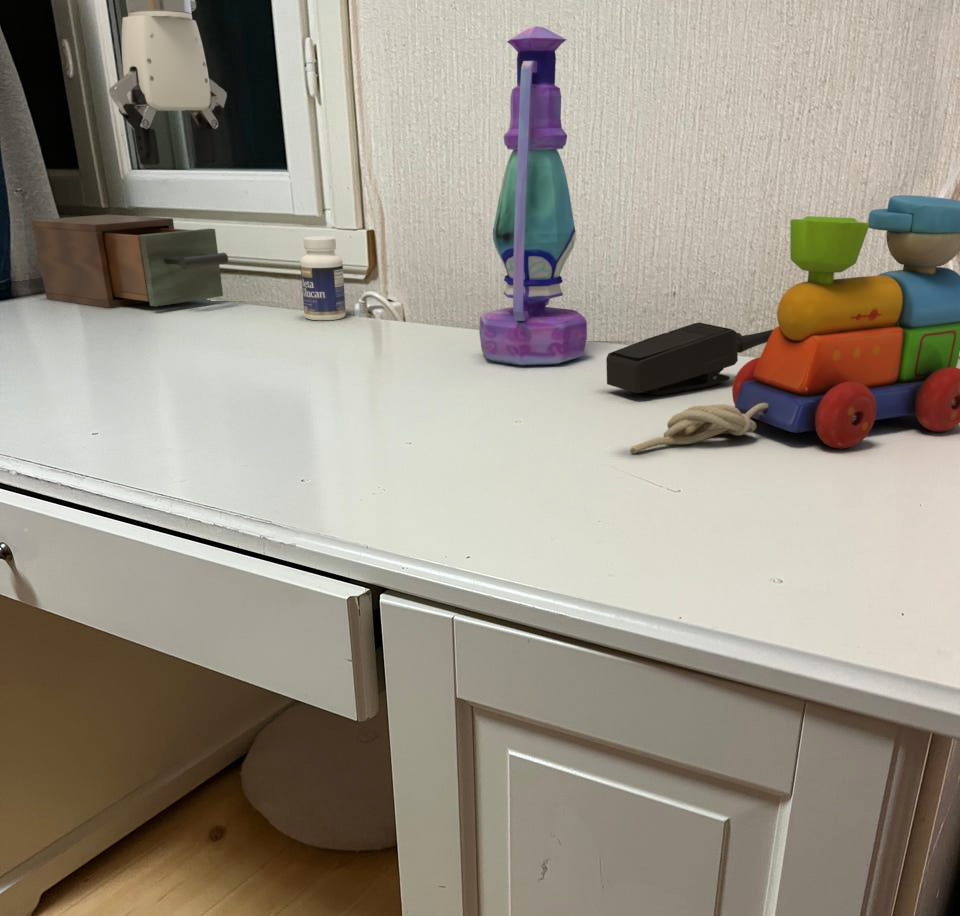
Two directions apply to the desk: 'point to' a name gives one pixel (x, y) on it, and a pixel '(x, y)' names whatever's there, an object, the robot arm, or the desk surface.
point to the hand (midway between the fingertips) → (180, 163)
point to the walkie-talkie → (679, 359)
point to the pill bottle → (322, 279)
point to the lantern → (534, 219)
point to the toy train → (853, 335)
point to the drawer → (163, 264)
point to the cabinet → (83, 256)
